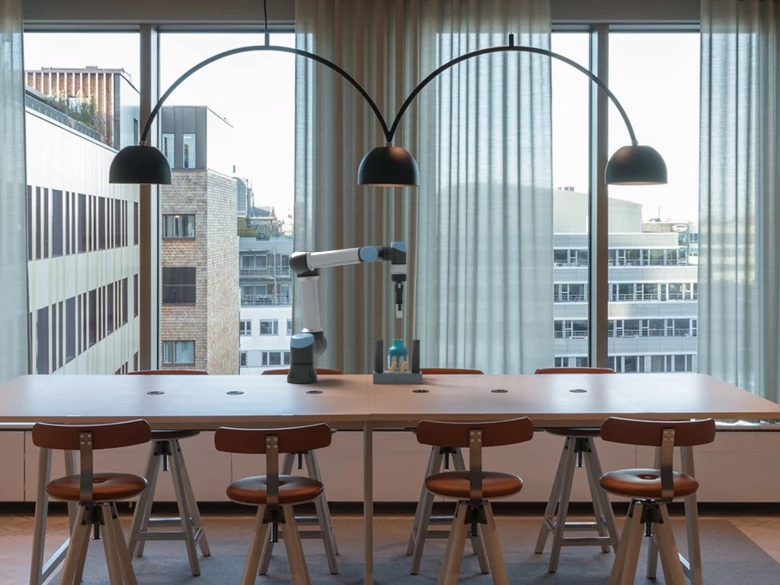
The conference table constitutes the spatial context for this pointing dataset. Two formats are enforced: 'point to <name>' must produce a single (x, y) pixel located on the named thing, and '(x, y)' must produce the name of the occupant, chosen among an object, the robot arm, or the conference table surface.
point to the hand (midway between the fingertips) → (399, 316)
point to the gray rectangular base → (397, 377)
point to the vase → (397, 355)
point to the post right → (415, 356)
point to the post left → (379, 356)
